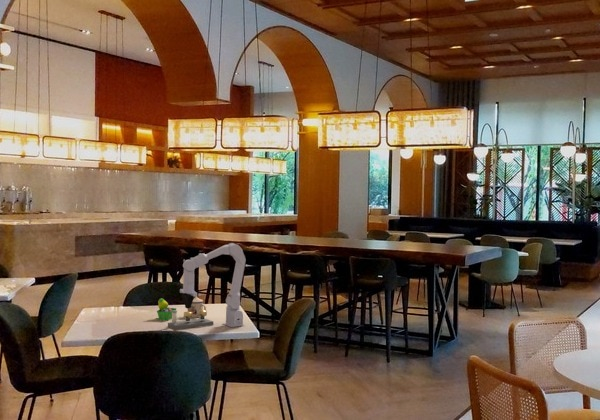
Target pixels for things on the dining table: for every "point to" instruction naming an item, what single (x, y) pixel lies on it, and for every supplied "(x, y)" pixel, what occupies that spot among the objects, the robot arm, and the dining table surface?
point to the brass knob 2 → (202, 313)
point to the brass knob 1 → (187, 315)
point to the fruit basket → (164, 310)
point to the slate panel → (190, 324)
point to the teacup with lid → (196, 307)
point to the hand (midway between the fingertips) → (188, 308)
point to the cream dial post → (174, 316)
